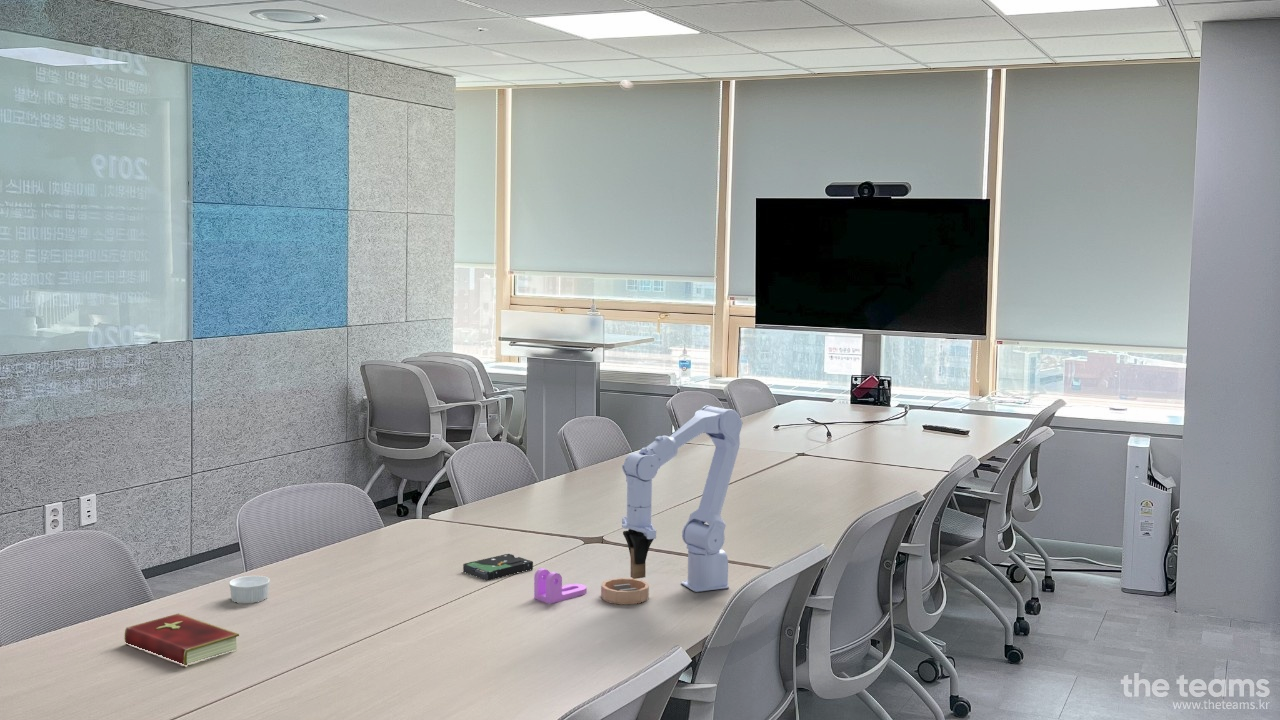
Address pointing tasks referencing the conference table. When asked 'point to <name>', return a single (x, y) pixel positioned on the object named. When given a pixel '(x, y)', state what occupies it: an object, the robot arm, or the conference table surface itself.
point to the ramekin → (249, 589)
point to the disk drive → (497, 566)
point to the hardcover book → (181, 638)
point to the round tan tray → (624, 591)
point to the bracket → (554, 587)
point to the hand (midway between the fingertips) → (638, 562)
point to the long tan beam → (636, 567)
